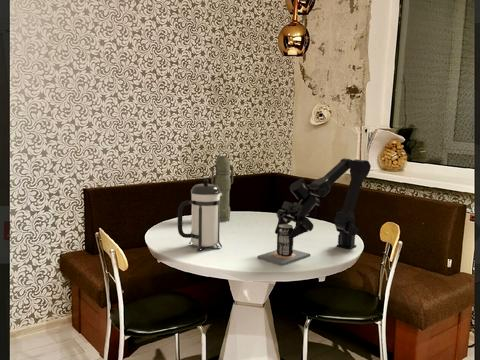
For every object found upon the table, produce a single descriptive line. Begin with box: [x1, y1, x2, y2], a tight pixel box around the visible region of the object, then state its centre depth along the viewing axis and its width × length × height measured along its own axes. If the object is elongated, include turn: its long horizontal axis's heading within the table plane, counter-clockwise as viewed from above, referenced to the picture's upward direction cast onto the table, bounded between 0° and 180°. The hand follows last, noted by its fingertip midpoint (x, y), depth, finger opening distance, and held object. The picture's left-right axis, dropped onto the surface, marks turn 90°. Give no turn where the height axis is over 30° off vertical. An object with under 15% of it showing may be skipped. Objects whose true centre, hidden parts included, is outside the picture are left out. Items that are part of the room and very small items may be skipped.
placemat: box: [257, 248, 311, 267], centre depth 187 cm, size 13×18×1 cm
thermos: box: [211, 155, 234, 222], centre depth 249 cm, size 9×12×35 cm
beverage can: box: [276, 223, 294, 256], centre depth 187 cm, size 7×7×12 cm
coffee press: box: [177, 178, 223, 251], centre depth 197 cm, size 17×16×30 cm
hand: (282, 235), depth 186 cm, fingers open, 9 cm apart
